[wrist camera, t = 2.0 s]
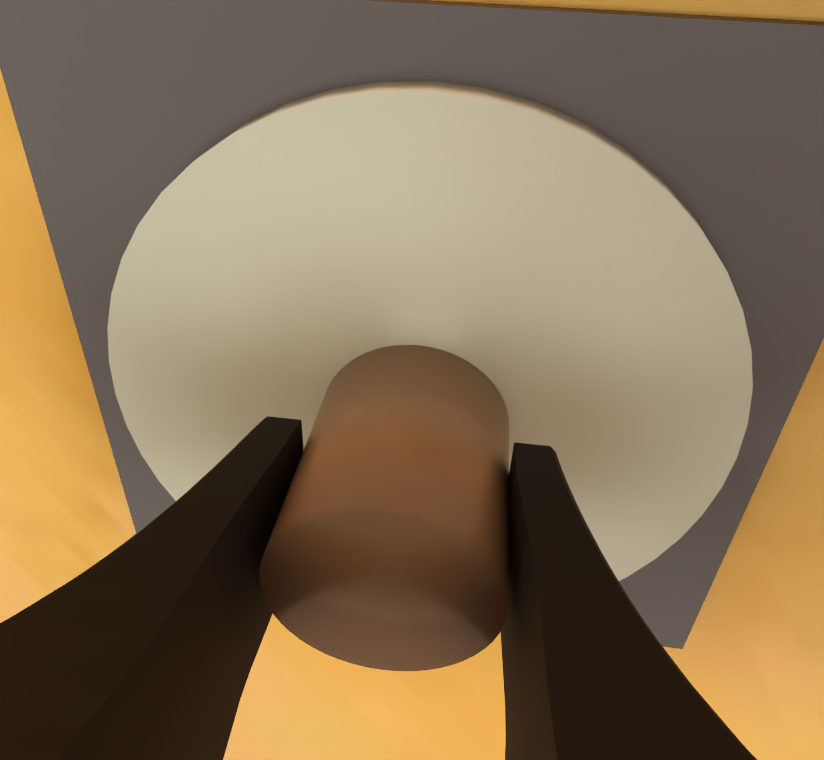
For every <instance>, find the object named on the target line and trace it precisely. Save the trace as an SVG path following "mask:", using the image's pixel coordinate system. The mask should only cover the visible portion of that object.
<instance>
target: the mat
mask: <svg viewBox="0 0 824 760" xmlns="http://www.w3.org/2000/svg"><path fill="white" fill-rule="evenodd" d="M0 68H1V72H2V75H3V79H4V82H5V85H6V89H7V92H8V96H9V99H10V103H11V106H12V109H13V113H14V116H15V120H16V123H17V126H18V130H19V133H20V137H21V140H22V144H23V147H24V150H25V154H26V157H27V161H28V164H29V167H30V171H31V174H32V178H33V181H34V185H35V188H36V191H37V195H38V198H39V202H40V205H41V209H42V212H43V215H44V219H45V222H46V226H47V229H48V232H49V236H50V239H51V243H52V246H53V250H54V253H55V256H56V260H57V263H58V267H59V270H60V273H61V277H62V280H63V284H64V287H65V291H66V294H67V297H68V301H69V304H70V308H71V311H72V315H73V318H74V321H75V325H76V328H77V332H78V335H79V338H80V342H81V345H82V349H83V352H84V356H85V359H86V362H87V366H88V369H89V373H90V376H91V380H92V383H93V386H94V390H95V393H96V397H97V400H98V403H99V407H100V410H101V414H102V417H103V421H104V424H105V427H106V431H107V434H108V438H109V441H110V444H111V448H112V451H113V455H114V458H115V462H116V465H117V468H118V472H119V475H120V479H121V482H122V486H123V489H124V492H125V496H126V499H127V503H128V506H129V509H130V513H131V516H132V520H133V523H134V527H135V530H136V533H138V532H139V531H141V530H142V529H143V528H144V527H146V526H147V525H148V524H149V523H150V522H152V521H153V520H154V519H155V518H156V517H158V516H159V515H160V514H161V513H162V512H164V511H165V510H166V509H167V508H168V507H170V506H171V505H172V504H173V503H175V502H176V501H175V500H174V498H173V497H172V496H171V495H170V494H169V492H168V491H167V490H166V489H165V488H164V486H163V485H162V484H161V483H160V482H159V480H158V479H157V477H156V476H155V474H154V473H153V471H152V470H151V468H150V467H149V465H148V464H147V462H146V461H145V459H144V458H143V456H142V455H141V453H140V451H139V449H138V447H137V445H136V443H135V441H134V439H133V437H132V435H131V433H130V431H129V430H128V428H127V426H126V423H125V420H124V417H123V414H122V411H121V409H120V406H119V403H118V400H117V397H116V394H115V390H114V385H113V380H112V375H111V370H110V365H109V352H108V331H107V327H108V318H109V309H110V300H111V293H112V289H113V286H114V283H115V279H116V276H117V272H118V269H119V265H120V262H121V259H122V257H123V254H124V252H125V250H126V248H127V246H128V244H129V242H130V240H131V238H132V236H133V234H134V232H135V230H136V228H137V226H138V224H139V223H140V221H141V220H142V219H143V217H144V216H145V214H146V213H147V212H148V210H149V209H150V207H151V206H152V205H153V203H154V202H155V201H156V199H157V198H158V196H159V195H160V194H161V192H162V191H163V190H164V189H165V188H166V187H167V186H168V185H170V184H171V183H172V182H173V181H174V180H175V179H176V178H177V177H178V176H179V175H180V174H181V173H182V172H183V171H184V170H185V169H186V168H187V167H188V166H189V165H190V164H191V163H192V162H193V161H195V160H196V159H197V158H198V157H200V156H201V155H202V154H203V153H205V152H206V151H207V150H208V149H210V148H211V147H212V146H214V145H215V144H217V143H218V142H220V141H221V140H222V139H224V138H225V137H227V136H228V135H230V134H231V133H232V132H234V131H235V130H237V129H238V128H240V127H241V126H242V125H244V124H245V123H247V122H249V121H251V120H253V119H255V118H257V117H259V116H261V115H264V114H266V113H268V112H270V111H272V110H274V109H276V108H278V107H280V106H282V105H284V104H286V103H289V102H292V101H295V100H298V99H302V98H305V97H308V96H311V95H314V94H318V93H321V92H324V91H327V90H331V89H335V88H341V87H348V86H354V85H360V84H367V83H373V82H379V81H428V80H434V81H442V82H450V83H457V84H465V85H473V86H481V87H487V88H491V89H494V90H498V91H501V92H505V93H509V94H512V95H516V96H520V97H523V98H527V99H530V100H534V101H537V102H539V103H542V104H544V105H546V106H549V107H551V108H553V109H555V110H558V111H560V112H562V113H565V114H567V115H569V116H572V117H574V118H576V119H578V120H581V121H583V122H585V123H586V124H588V125H590V126H591V127H593V128H594V129H596V130H598V131H599V132H601V133H602V134H604V135H606V136H607V137H609V138H610V139H612V140H614V141H615V142H617V143H619V144H620V145H622V146H623V147H625V148H626V149H628V150H629V151H630V152H631V153H632V154H633V155H635V156H636V157H637V158H638V159H639V160H640V161H642V162H643V163H644V164H645V165H646V166H648V167H649V168H650V169H651V170H652V171H653V172H655V173H656V174H657V175H658V176H659V177H660V178H662V179H663V180H664V182H665V183H666V184H667V185H668V186H669V187H670V189H671V190H672V191H673V192H674V193H675V194H676V195H677V197H678V198H679V199H680V200H681V201H682V202H683V204H684V205H685V206H686V207H687V208H688V209H689V211H690V212H691V213H692V214H693V216H694V217H695V219H696V221H697V222H698V224H699V226H700V227H701V229H702V230H703V232H704V234H705V235H706V237H707V239H708V240H709V242H710V243H711V245H712V247H713V248H714V250H715V252H716V253H717V255H718V257H719V258H720V260H721V262H722V263H723V265H724V267H725V269H726V270H727V272H728V275H729V277H730V280H731V282H732V284H733V287H734V289H735V292H736V294H737V297H738V299H739V302H740V304H741V307H742V309H743V312H744V317H745V322H746V326H747V331H748V336H749V340H750V345H751V350H752V377H753V390H752V398H751V405H750V412H749V419H748V425H747V428H746V431H745V434H744V437H743V441H742V444H741V447H740V450H739V453H738V456H737V459H736V461H735V463H734V465H733V467H732V469H731V470H730V472H729V474H728V476H727V478H726V480H725V482H724V484H723V486H722V488H721V489H720V491H719V492H718V494H717V495H716V497H715V498H714V499H713V501H712V502H711V504H710V505H709V506H708V508H707V509H706V511H705V512H704V513H703V515H702V516H701V517H700V518H699V519H698V520H697V521H696V522H695V523H694V524H693V525H692V526H691V528H690V529H689V530H688V531H687V532H686V533H685V534H684V535H683V536H682V537H681V538H680V539H679V540H678V541H677V542H675V543H674V544H673V545H672V546H670V547H669V548H668V549H667V550H666V551H664V552H663V553H662V554H661V555H659V556H658V557H657V558H656V559H655V560H653V561H652V562H650V563H648V564H647V565H645V566H644V567H642V568H641V569H639V570H637V571H636V572H634V573H633V574H631V575H630V576H628V577H626V578H624V579H622V580H620V581H619V582H620V584H621V586H622V587H623V589H624V591H625V592H626V594H627V595H628V597H629V599H630V600H631V602H632V603H633V605H634V606H635V608H636V609H637V611H638V612H639V614H640V615H641V617H642V618H643V620H644V621H645V623H646V624H647V626H648V627H649V628H650V630H651V631H652V633H653V634H654V635H655V637H656V638H657V640H658V641H659V642H660V644H661V645H662V646H664V647H672V648H680V649H682V648H683V646H684V644H685V642H686V640H687V637H688V635H689V633H690V631H691V629H692V626H693V624H694V622H695V620H696V618H697V615H698V613H699V611H700V609H701V607H702V604H703V602H704V600H705V598H706V596H707V593H708V591H709V589H710V587H711V585H712V582H713V580H714V578H715V576H716V574H717V571H718V569H719V567H720V565H721V563H722V560H723V558H724V556H725V554H726V552H727V549H728V547H729V545H730V543H731V541H732V538H733V536H734V534H735V532H736V530H737V527H738V525H739V523H740V521H741V519H742V516H743V514H744V512H745V510H746V508H747V505H748V503H749V501H750V499H751V497H752V494H753V492H754V490H755V488H756V486H757V483H758V481H759V479H760V477H761V475H762V472H763V470H764V468H765V466H766V464H767V461H768V459H769V457H770V455H771V453H772V450H773V448H774V446H775V444H776V442H777V439H778V437H779V435H780V433H781V430H782V428H783V426H784V424H785V422H786V419H787V417H788V415H789V413H790V411H791V408H792V406H793V404H794V402H795V400H796V397H797V395H798V393H799V391H800V389H801V386H802V384H803V382H804V380H805V378H806V375H807V373H808V371H809V369H810V367H811V364H812V362H813V360H814V358H815V356H816V353H817V351H818V349H819V347H820V345H821V342H822V340H823V338H824V22H811V21H793V20H774V19H756V18H738V17H719V16H701V15H683V14H664V13H646V12H628V11H609V10H591V9H573V8H554V7H536V6H518V5H499V4H481V3H463V2H444V1H426V0H0Z"/></svg>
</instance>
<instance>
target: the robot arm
mask: <svg viewBox="0 0 824 760" xmlns="http://www.w3.org/2000/svg"><path fill="white" fill-rule="evenodd" d="M303 451H304V448H303V435H302V422H301V420H298V419H289V418H279V417H270V416H267V417H266V418H264V419H263V420H262V421H261V422H260V423H259V424H258V425H257V426H256V427H255V428H253V429H252V430H251V431H250V432H249V433H248V434H247V435H246V436H245V437H244V438H243V439H242V440H241V441H240V442H239V443H238V444H237V445H236V446H235V447H234V448H233V449H232V450H231V451H230V452H229V453H228V454H227V455H226V456H225V457H224V458H223V459H222V460H221V461H220V462H219V463H218V464H217V465H215V466H214V467H213V468H212V469H211V470H210V471H209V472H208V473H207V474H206V475H205V476H204V477H202V478H201V479H200V480H199V481H198V482H197V483H196V484H195V485H194V486H193V487H191V488H190V489H189V490H188V491H187V492H186V493H185V494H184V495H183V496H181V497H180V498H179V499H178V500H177V501H176V502H175V503H173V504H172V505H171V506H170V507H168V508H167V509H166V510H165V511H164V512H162V513H161V514H160V515H159V516H158V517H156V518H155V519H154V520H153V521H152V522H150V523H149V524H148V525H147V526H146V527H144V528H143V529H142V530H141V531H139V532H138V533H137V534H136V535H134V536H133V537H132V538H130V539H129V540H128V541H126V542H125V543H124V544H122V545H121V546H120V547H118V548H117V549H116V550H114V551H113V552H112V553H110V554H109V555H108V556H106V557H105V558H103V559H102V560H100V561H99V562H98V563H96V564H95V565H93V566H92V567H91V568H89V569H88V570H86V571H85V572H83V573H82V574H80V575H79V576H77V577H76V578H74V579H73V580H71V581H70V582H68V583H66V584H65V585H63V586H62V587H60V588H58V589H57V590H55V591H53V592H52V593H50V594H49V595H47V596H45V597H44V598H42V599H40V600H39V601H37V602H36V603H34V604H32V605H31V606H29V607H27V608H26V609H24V610H23V611H21V612H19V613H18V614H16V615H14V616H12V617H11V618H9V619H7V620H5V621H4V622H2V623H0V760H223V757H224V754H225V750H226V747H227V743H228V740H229V736H230V733H231V729H232V726H233V722H234V719H235V715H236V712H237V708H238V705H239V701H240V698H241V695H242V692H243V689H244V686H245V683H246V680H247V678H248V675H249V672H250V669H251V667H252V664H253V662H254V659H255V657H256V654H257V651H258V649H259V646H260V644H261V641H262V639H263V636H264V634H265V631H266V629H267V626H268V623H269V621H270V618H271V616H272V611H271V610H270V608H269V607H268V605H267V603H266V601H265V599H264V596H263V594H262V591H261V587H260V582H259V569H260V563H261V560H262V557H263V555H264V552H265V549H266V547H267V544H268V542H269V539H270V536H271V534H272V531H273V529H274V526H275V523H276V521H277V518H278V516H279V513H280V510H281V508H282V505H283V503H284V500H285V497H286V495H287V492H288V490H289V487H290V484H291V482H292V479H293V477H294V474H295V471H296V469H297V466H298V464H299V461H300V458H301V456H302V453H303ZM501 643H502V659H503V676H504V692H505V713H506V750H505V760H757V759H756V758H755V757H754V756H753V755H752V754H751V753H750V752H749V751H748V750H747V749H746V748H745V746H744V745H743V744H742V743H741V742H740V741H739V740H738V738H737V737H736V736H735V735H734V734H733V733H732V731H731V730H730V729H729V728H728V727H727V726H726V724H725V723H724V722H723V721H722V720H721V719H720V717H719V716H718V715H717V714H716V713H715V712H714V710H713V709H712V708H711V707H710V706H709V704H708V703H707V702H706V701H705V700H704V699H703V697H702V696H701V695H700V694H699V693H698V692H697V690H696V689H695V688H694V687H693V686H692V684H691V683H690V682H689V681H688V679H687V678H686V677H685V676H684V674H683V673H682V672H681V670H680V669H679V668H678V666H677V665H676V664H675V662H674V661H673V660H672V659H671V657H670V656H669V655H668V653H667V652H666V651H665V649H664V648H663V647H662V645H661V644H660V642H659V641H658V640H657V638H656V637H655V635H654V634H653V633H652V631H651V630H650V628H649V627H648V626H647V624H646V623H645V621H644V620H643V618H642V617H641V615H640V614H639V612H638V611H637V609H636V608H635V606H634V605H633V603H632V602H631V600H630V599H629V597H628V595H627V594H626V592H625V591H624V589H623V587H622V586H621V584H620V582H619V581H618V579H617V577H616V576H615V574H614V573H613V571H612V569H611V568H610V566H609V564H608V562H607V561H606V559H605V557H604V555H603V554H602V552H601V550H600V548H599V546H598V544H597V542H596V540H595V539H594V537H593V535H592V533H591V531H590V529H589V527H588V525H587V523H586V522H585V520H584V518H583V515H582V513H581V511H580V509H579V507H578V505H577V503H576V501H575V499H574V496H573V494H572V492H571V490H570V488H569V485H568V483H567V481H566V478H565V476H564V473H563V471H562V468H561V465H560V463H559V460H558V457H557V454H556V452H555V451H554V449H553V448H552V447H551V446H544V445H535V444H525V443H516V442H514V446H513V452H512V459H511V465H510V471H509V555H508V612H507V617H506V620H505V624H504V625H503V627H502V629H501Z"/></svg>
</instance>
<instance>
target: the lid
mask: <svg viewBox="0 0 824 760" xmlns="http://www.w3.org/2000/svg"><path fill="white" fill-rule="evenodd" d="M107 331H108V352H109V365H110V370H111V375H112V380H113V385H114V390H115V394H116V397H117V400H118V403H119V406H120V409H121V411H122V414H123V417H124V420H125V423H126V426H127V428H128V430H129V431H130V433H131V435H132V437H133V439H134V441H135V443H136V445H137V447H138V449H139V451H140V453H141V455H142V456H143V458H144V459H145V461H146V462H147V464H148V465H149V467H150V468H151V470H152V471H153V473H154V474H155V476H156V477H157V479H158V480H159V482H160V483H161V484H162V485H163V486H164V488H165V489H166V490H167V491H168V492H169V494H170V495H171V496H172V497H173V498H174V500H175V501H177V500H178V499H179V498H180V497H181V496H183V495H184V494H185V493H186V492H187V491H188V490H189V489H190V488H191V487H193V486H194V485H195V484H196V483H197V482H198V481H199V480H200V479H201V478H202V477H204V476H205V475H206V474H207V473H208V472H209V471H210V470H211V469H212V468H213V467H214V466H215V465H217V464H218V463H219V462H220V461H221V460H222V459H223V458H224V457H225V456H226V455H227V454H228V453H229V452H230V451H231V450H232V449H233V448H234V447H235V446H236V445H237V444H238V443H239V442H240V441H241V440H242V439H243V438H244V437H245V436H246V435H247V434H248V433H249V432H250V431H251V430H252V429H253V428H255V427H256V426H257V425H258V424H259V423H260V422H261V421H262V420H263V419H264V418H266V417H267V416H270V417H279V418H289V419H298V420H301V422H302V435H303V448H304V451H303V453H302V456H301V458H300V461H299V464H298V466H297V469H296V471H295V474H294V477H293V479H292V482H291V484H290V487H289V490H288V492H287V495H286V497H285V500H284V503H283V505H282V508H281V510H280V513H279V516H278V518H277V521H276V523H275V526H274V529H273V531H272V534H271V536H270V539H269V542H268V544H267V547H266V549H265V552H264V555H263V557H262V560H261V563H260V569H259V582H260V587H261V591H262V594H263V596H264V599H265V601H266V603H267V605H268V607H269V608H270V610H271V611H272V613H273V614H274V615H275V617H276V618H277V619H278V620H279V621H280V622H281V624H283V625H284V626H285V627H286V628H287V629H288V630H289V631H290V632H291V633H293V634H294V635H295V636H296V637H298V638H299V639H300V640H302V641H304V642H305V643H307V644H308V645H310V646H312V647H313V648H315V649H317V650H319V651H321V652H323V653H325V654H328V655H330V656H332V657H335V658H337V659H340V660H343V661H346V662H349V663H352V664H356V665H360V666H364V667H369V668H375V669H381V670H392V671H420V670H429V669H436V668H441V667H445V666H449V665H453V664H455V663H458V662H461V661H464V660H466V659H468V658H470V657H472V656H474V655H476V654H477V653H479V652H480V651H482V650H483V649H485V648H486V647H487V646H488V645H489V644H490V643H491V642H493V640H494V639H495V638H496V637H497V635H498V634H499V633H500V631H501V629H502V627H503V625H504V624H505V620H506V617H507V612H508V555H509V471H510V465H511V459H512V452H513V446H514V442H516V443H525V444H535V445H544V446H551V447H552V448H553V449H554V451H555V452H556V454H557V457H558V460H559V463H560V465H561V468H562V471H563V473H564V476H565V478H566V481H567V483H568V485H569V488H570V490H571V492H572V494H573V496H574V499H575V501H576V503H577V505H578V507H579V509H580V511H581V513H582V515H583V518H584V520H585V522H586V523H587V525H588V527H589V529H590V531H591V533H592V535H593V537H594V539H595V540H596V542H597V544H598V546H599V548H600V550H601V552H602V554H603V555H604V557H605V559H606V561H607V562H608V564H609V566H610V568H611V569H612V571H613V573H614V574H615V576H616V577H617V579H618V581H620V580H622V579H624V578H626V577H628V576H630V575H631V574H633V573H634V572H636V571H637V570H639V569H641V568H642V567H644V566H645V565H647V564H648V563H650V562H652V561H653V560H655V559H656V558H657V557H658V556H659V555H661V554H662V553H663V552H664V551H666V550H667V549H668V548H669V547H670V546H672V545H673V544H674V543H675V542H677V541H678V540H679V539H680V538H681V537H682V536H683V535H684V534H685V533H686V532H687V531H688V530H689V529H690V528H691V526H692V525H693V524H694V523H695V522H696V521H697V520H698V519H699V518H700V517H701V516H702V515H703V513H704V512H705V511H706V509H707V508H708V506H709V505H710V504H711V502H712V501H713V499H714V498H715V497H716V495H717V494H718V492H719V491H720V489H721V488H722V486H723V484H724V482H725V480H726V478H727V476H728V474H729V472H730V470H731V469H732V467H733V465H734V463H735V461H736V459H737V456H738V453H739V450H740V447H741V444H742V441H743V437H744V434H745V431H746V428H747V425H748V419H749V412H750V405H751V398H752V390H753V377H752V350H751V345H750V340H749V336H748V331H747V326H746V322H745V317H744V312H743V309H742V307H741V304H740V302H739V299H738V297H737V294H736V292H735V289H734V287H733V284H732V282H731V280H730V277H729V275H728V272H727V270H726V269H725V267H724V265H723V263H722V262H721V260H720V258H719V257H718V255H717V253H716V252H715V250H714V248H713V247H712V245H711V243H710V242H709V240H708V239H707V237H706V235H705V234H704V232H703V230H702V229H701V227H700V226H699V224H698V222H697V221H696V219H695V217H694V216H693V214H692V213H691V212H690V211H689V209H688V208H687V207H686V206H685V205H684V204H683V202H682V201H681V200H680V199H679V198H678V197H677V195H676V194H675V193H674V192H673V191H672V190H671V189H670V187H669V186H668V185H667V184H666V183H665V182H664V180H663V179H662V178H660V177H659V176H658V175H657V174H656V173H655V172H653V171H652V170H651V169H650V168H649V167H648V166H646V165H645V164H644V163H643V162H642V161H640V160H639V159H638V158H637V157H636V156H635V155H633V154H632V153H631V152H630V151H629V150H628V149H626V148H625V147H623V146H622V145H620V144H619V143H617V142H615V141H614V140H612V139H610V138H609V137H607V136H606V135H604V134H602V133H601V132H599V131H598V130H596V129H594V128H593V127H591V126H590V125H588V124H586V123H585V122H583V121H581V120H578V119H576V118H574V117H572V116H569V115H567V114H565V113H562V112H560V111H558V110H555V109H553V108H551V107H549V106H546V105H544V104H542V103H539V102H537V101H534V100H530V99H527V98H523V97H520V96H516V95H512V94H509V93H505V92H501V91H498V90H494V89H491V88H487V87H481V86H473V85H465V84H457V83H450V82H442V81H434V80H428V81H379V82H373V83H367V84H360V85H354V86H348V87H341V88H335V89H331V90H327V91H324V92H321V93H318V94H314V95H311V96H308V97H305V98H302V99H298V100H295V101H292V102H289V103H286V104H284V105H282V106H280V107H278V108H276V109H274V110H272V111H270V112H268V113H266V114H264V115H261V116H259V117H257V118H255V119H253V120H251V121H249V122H247V123H245V124H244V125H242V126H241V127H240V128H238V129H237V130H235V131H234V132H232V133H231V134H230V135H228V136H227V137H225V138H224V139H222V140H221V141H220V142H218V143H217V144H215V145H214V146H212V147H211V148H210V149H208V150H207V151H206V152H205V153H203V154H202V155H201V156H200V157H198V158H197V159H196V160H195V161H193V162H192V163H191V164H190V165H189V166H188V167H187V168H186V169H185V170H184V171H183V172H182V173H181V174H180V175H179V176H178V177H177V178H176V179H175V180H174V181H173V182H172V183H171V184H170V185H168V186H167V187H166V188H165V189H164V190H163V191H162V192H161V194H160V195H159V196H158V198H157V199H156V201H155V202H154V203H153V205H152V206H151V207H150V209H149V210H148V212H147V213H146V214H145V216H144V217H143V219H142V220H141V221H140V223H139V224H138V226H137V228H136V230H135V232H134V234H133V236H132V238H131V240H130V242H129V244H128V246H127V248H126V250H125V252H124V254H123V257H122V259H121V262H120V265H119V269H118V272H117V276H116V279H115V283H114V286H113V289H112V293H111V300H110V309H109V318H108V327H107Z"/></svg>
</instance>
